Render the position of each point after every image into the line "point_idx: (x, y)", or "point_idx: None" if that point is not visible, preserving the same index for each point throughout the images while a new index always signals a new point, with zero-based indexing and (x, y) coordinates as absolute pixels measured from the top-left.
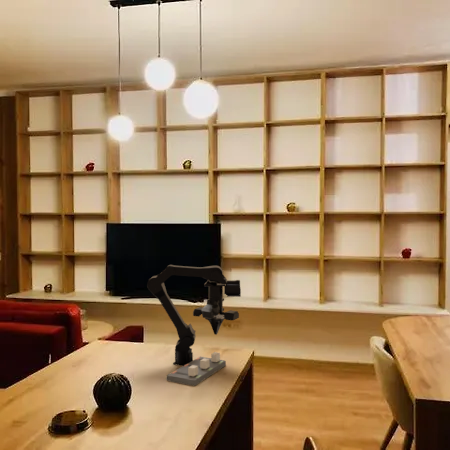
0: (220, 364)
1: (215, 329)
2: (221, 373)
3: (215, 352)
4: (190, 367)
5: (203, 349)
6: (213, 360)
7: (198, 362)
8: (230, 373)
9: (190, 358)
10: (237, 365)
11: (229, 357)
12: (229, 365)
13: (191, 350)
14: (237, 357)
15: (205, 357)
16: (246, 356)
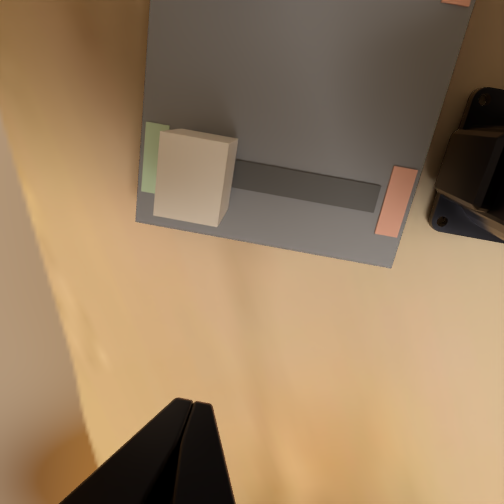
0: (143, 118)
1: (147, 466)
2: (111, 16)
3: (203, 211)
4: None
5: (421, 497)
6: (212, 135)
7: (360, 94)
8: (43, 43)
9: (467, 152)
10: (75, 247)
11: (194, 389)
12: (129, 231)
13: (501, 214)
14: (143, 400)
15: (334, 256)
16: (96, 428)
